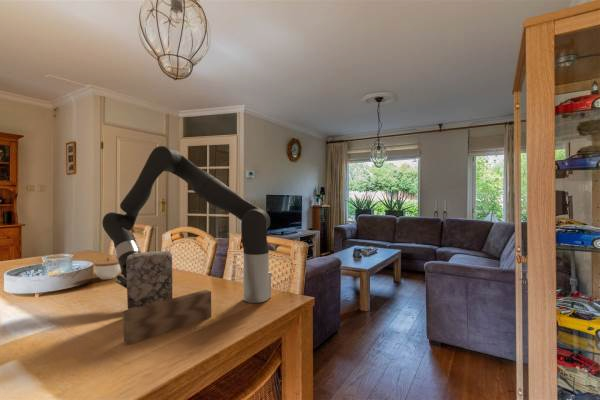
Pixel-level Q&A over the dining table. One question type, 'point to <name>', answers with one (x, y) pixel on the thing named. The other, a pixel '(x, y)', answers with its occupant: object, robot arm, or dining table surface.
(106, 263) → the lidded jar
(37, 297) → the dining table surface
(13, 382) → the dining table surface
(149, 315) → the stop bar
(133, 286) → the stone block
